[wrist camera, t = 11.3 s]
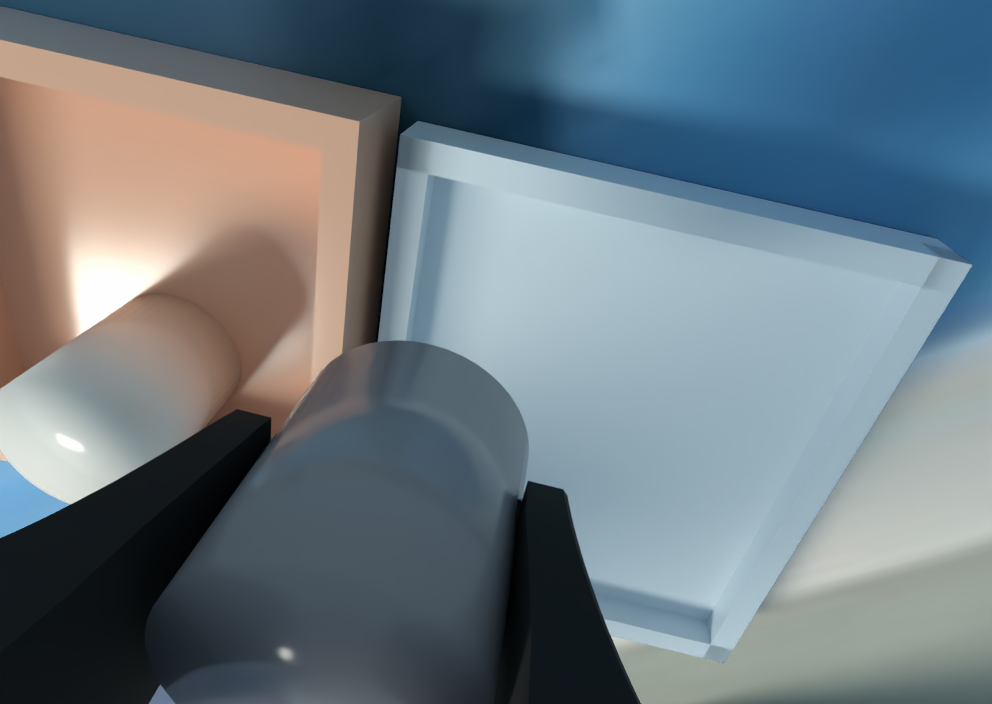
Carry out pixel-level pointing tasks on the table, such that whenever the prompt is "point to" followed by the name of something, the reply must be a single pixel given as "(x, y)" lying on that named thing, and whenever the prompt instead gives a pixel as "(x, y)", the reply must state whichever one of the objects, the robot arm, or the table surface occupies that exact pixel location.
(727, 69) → the table surface
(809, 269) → the parts tray
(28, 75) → the terracotta dish
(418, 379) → the grey plastic cylinder
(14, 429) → the pale grey cylinder
